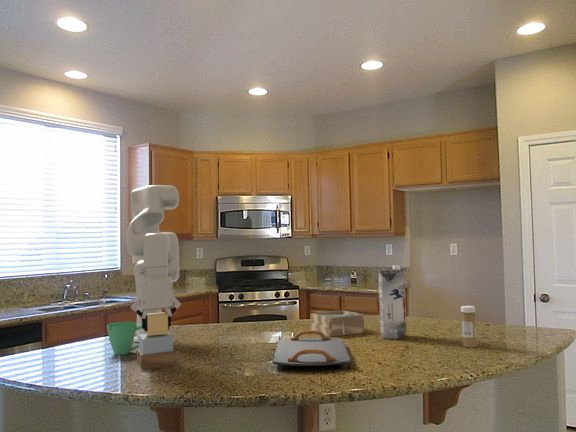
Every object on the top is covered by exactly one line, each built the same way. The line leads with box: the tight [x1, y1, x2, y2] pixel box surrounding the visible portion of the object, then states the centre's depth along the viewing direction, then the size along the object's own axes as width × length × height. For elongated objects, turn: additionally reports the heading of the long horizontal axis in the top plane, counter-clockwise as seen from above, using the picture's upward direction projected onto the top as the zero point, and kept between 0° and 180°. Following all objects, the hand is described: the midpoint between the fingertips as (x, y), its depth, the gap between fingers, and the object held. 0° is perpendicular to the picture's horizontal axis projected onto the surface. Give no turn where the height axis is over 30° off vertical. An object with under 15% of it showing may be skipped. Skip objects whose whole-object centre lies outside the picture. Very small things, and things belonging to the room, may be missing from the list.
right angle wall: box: [316, 311, 357, 334], centre depth 197 cm, size 12×12×8 cm
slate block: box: [138, 332, 174, 355], centre depth 151 cm, size 9×9×4 cm
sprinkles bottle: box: [460, 305, 478, 348], centre depth 163 cm, size 5×5×14 cm
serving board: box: [272, 329, 352, 372], centre depth 154 cm, size 39×23×6 cm, turn 178°
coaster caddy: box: [309, 310, 365, 337], centre depth 197 cm, size 16×16×7 cm
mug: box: [106, 321, 142, 356], centre depth 167 cm, size 15×10×10 cm
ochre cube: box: [145, 311, 169, 336], centre depth 151 cm, size 6×6×6 cm
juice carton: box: [378, 265, 407, 340], centre depth 183 cm, size 9×10×27 cm
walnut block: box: [136, 348, 176, 370], centre depth 150 cm, size 10×10×4 cm
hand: (156, 329), depth 151 cm, fingers closed on ochre cube, 6 cm apart
